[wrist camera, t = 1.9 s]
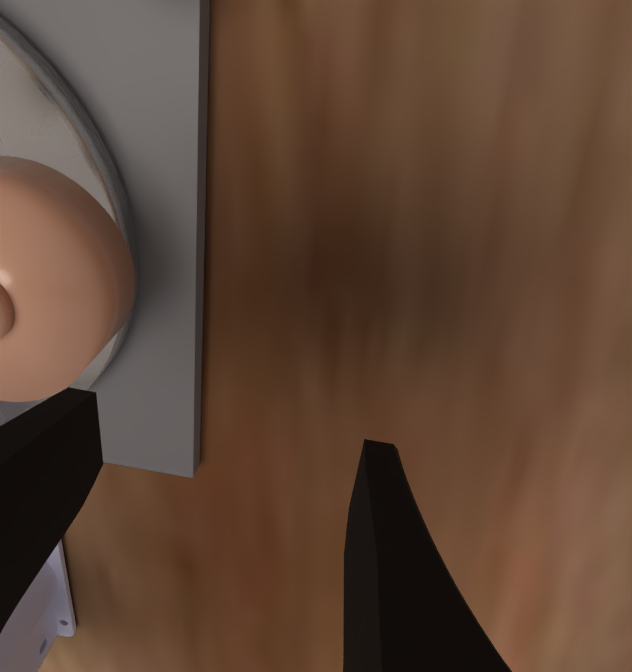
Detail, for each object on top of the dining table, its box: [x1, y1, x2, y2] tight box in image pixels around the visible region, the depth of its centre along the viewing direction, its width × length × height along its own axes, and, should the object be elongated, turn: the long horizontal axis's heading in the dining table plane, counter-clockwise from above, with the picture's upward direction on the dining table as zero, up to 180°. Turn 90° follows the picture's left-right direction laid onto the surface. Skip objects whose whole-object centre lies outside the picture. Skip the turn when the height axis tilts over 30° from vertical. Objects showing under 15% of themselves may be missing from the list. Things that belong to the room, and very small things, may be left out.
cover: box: [0, 156, 135, 402], centre depth 16 cm, size 7×7×4 cm
